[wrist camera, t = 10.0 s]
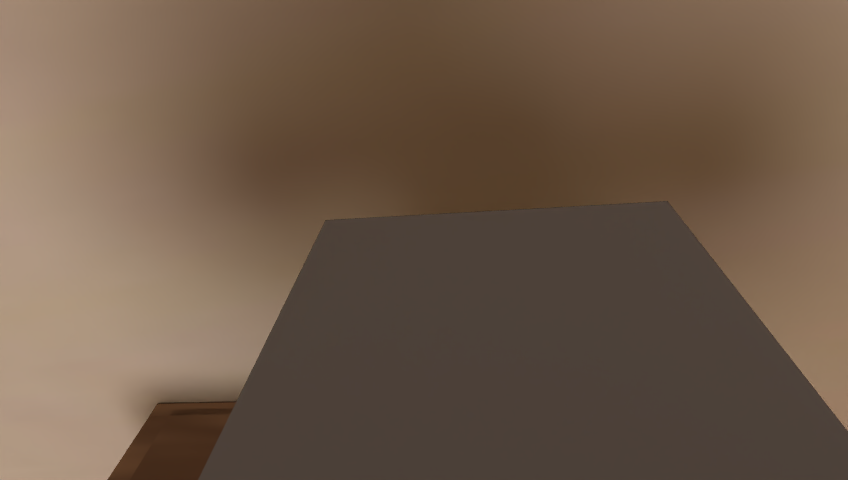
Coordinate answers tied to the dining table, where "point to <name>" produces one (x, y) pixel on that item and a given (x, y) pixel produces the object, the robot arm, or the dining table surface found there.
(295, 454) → the block
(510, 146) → the dining table surface
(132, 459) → the storage box
